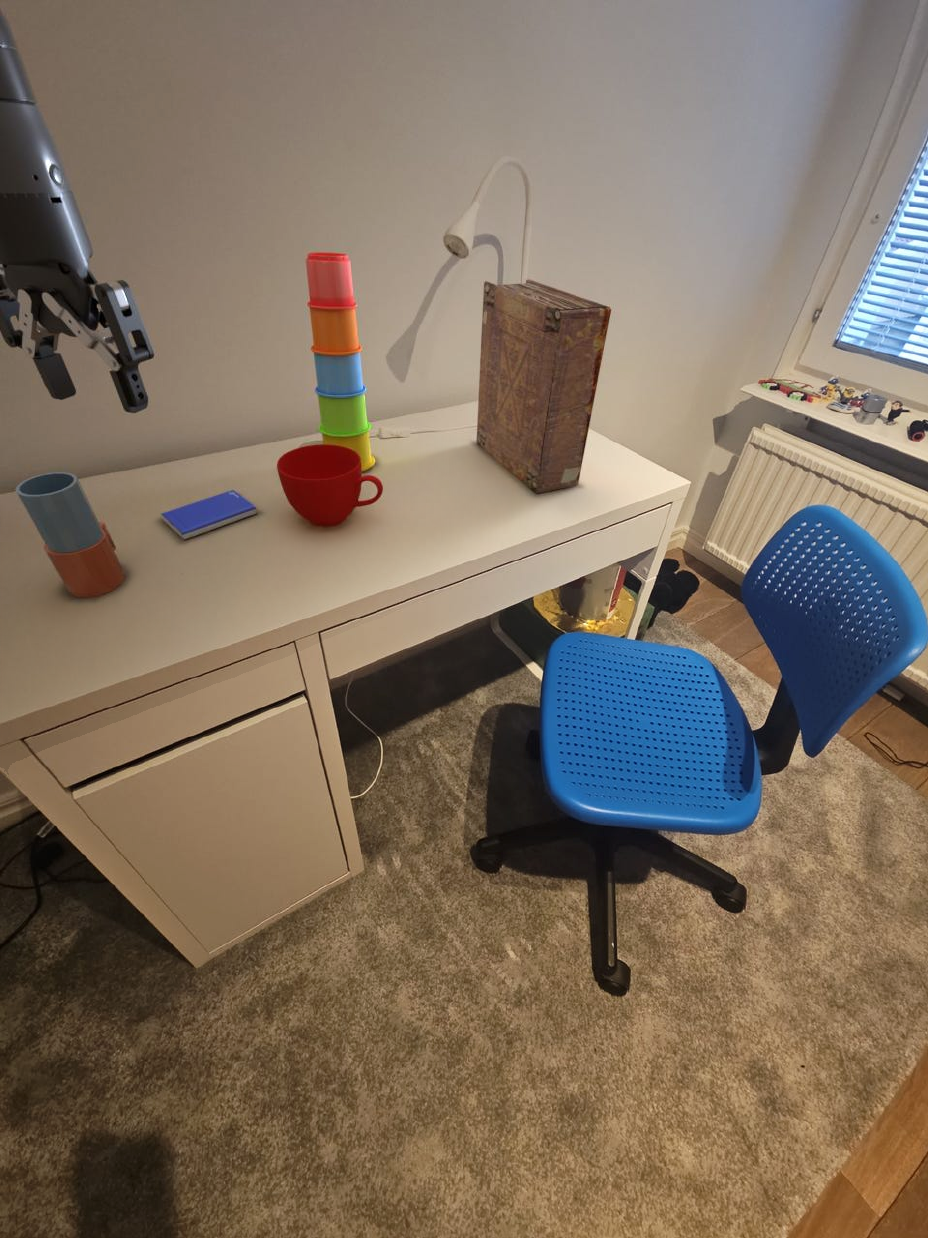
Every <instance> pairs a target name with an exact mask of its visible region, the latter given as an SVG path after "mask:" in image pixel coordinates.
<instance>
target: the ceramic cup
mask: <svg viewBox="0 0 928 1238" xmlns="http://www.w3.org/2000/svg"><path fill="white" fill-rule="evenodd" d="M276 470H277V474H278V477H279V482H280V484H281V487H282V490H283V493H284V495H285V497H286V499H287V501H288V503H289V504H290V506H291V508H293V510H294V511H295V512H296V513H297V514H298V515H299V516H300V517H302V518H303V519H304V520H306V521H307V522H308V523H310V525H313V526H316V527H320V528H329V527H335V526H339V525H341V524H343V523H344V522H345V521H346V520H347V519H348V517H349V516H350V515H351V514H352V512H354V510H355V509H356V508H361V507H366V506H369V505H372V504H374V503H376V502H377V501H378V500H379V499H380V498H381V496H382V495H383V491H384V486H383V483H382V481H381V480H380V479H379V477H377V476H376V475H371V474H366V475H363V472H362V466H361V457H360V456H359V454H358V453H357V452H355V451H354V450H352V449H350V448H347V447H343V446H339V445H329V444H323V443H322V444H320V443H319V444H309V445H303V446H300V447H296V448H294V449H291V450H289V451H287V452H285V453H284V454H282V455H281V456H280V457H279V458H278V460H277V463H276ZM364 482H371V483H373V484H374V485H375V486H376V490H377V492H376V494H375V495H374V496H373V497H372V498H368V499H364V500H359V499H360V496H361V493H362V486H363V485H362V484H363V483H364Z"/></svg>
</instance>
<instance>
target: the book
mask: <svg viewBox="0 0 928 1238" xmlns="http://www.w3.org/2000/svg"><path fill="white" fill-rule="evenodd" d="M482 297H483V298H482V317H481V337H480V338H481V339H480V360H479V363H480V364H479V380H478V401H477V402H478V403H477V422H476V444H477V445H478V446H479V447H480V448H481V449H483V450H484V451H485V452H486V453H487V454H489V456H491V457H492V458H493V459H495V461H497V462H498V463H499V464H500V465H502V466H503V467H504V468H505V469H506V470H508V471H509V472H510V473H512V475H514V476H515V477H516V478H517V479H518V480H519V481H521V482H522V483H523V484H524V485H526V487H527V488H529V489H530V490H531V491H532V492H534V493H535V494H536V495H537V494H541V493H546V492H550V491H551V492H552V491H555V490H560V489H564V488H571V487H575V486H577V485H579V482H580V476H581V472H582V466H583V462H584V461H583V460H584V457H585V451H586V445H587V440H588V434H589V429H590V424H591V418H592V413H593V408H594V403H595V397H596V393H597V388H598V382H599V378H600V377H599V376H600V371H601V366H602V361H603V357H604V350H605V345H606V340H607V334H608V329H609V323H610V319H611V313H612V309H611V306H607V305H605V304H602V303H599V302H596V301H593V300H590V299H587V298H584V297H582V296H578V295H576V294H573V293H570V292H567V291H564V290H561V289H559V288H556V287H552V286H550V285H548V284H547V285H546V284H544V283H541V282H538V281H535V280H533V279H529V278H528V279H525V282H524V283H507V284H496V283H493V282H490V281H487V280H485V281H483V296H482Z"/></svg>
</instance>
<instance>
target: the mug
mask: <svg viewBox="0 0 928 1238" xmlns="http://www.w3.org/2000/svg"><path fill="white" fill-rule="evenodd" d="M98 522H99V524H100V526H101V530H102V532H103V536H102V538H101V539H100V540H99V541H98V542H97V543H96V544H94V545H92V546H90V547H88V548H86V549H83V550H79V551H75V552H69V553H59V552H54V551H51V550H50V549H49V548H48V547H47V545H46V544H45V543H44V544H43V549H44V551H45V553H46V555H47V557H48V558H49V560H50V562H51V564H52V566H53V567H54V569H55V571H56V573H57V574H58V576H59V578H60V580H61V581H62V583H63V585H64V587H65V589H66V590H67V591H68V593H69V594H70V595H72V596H74V597H77V598H93V597H98V596H102V595H104V594H108V593H109V592H112V591H114V590H115V589H117V588H118V587H120V585H121V584H122V583H123V582H124V580H125V577H126V576H125V575H126V574H125V572H124V569H123V567H122V565H121V562H120V560H119V558H118V556H117V553H116V550H117V546H116V545H115V542H114V540H113V538H112V536H111V534H110V531H109V529H108V527H107V524H106V523H105V522H104V521H98Z"/></svg>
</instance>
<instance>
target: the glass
mask: <svg viewBox="0 0 928 1238" xmlns="http://www.w3.org/2000/svg"><path fill="white" fill-rule="evenodd" d="M15 493H16V494H17V496H18V498H19V501H20V502H21V504H22V505H23V507H24V509H25V511H26V512H27V514H28V516H29V518H30V520H31V521H32V523H33V525H34V526H35V528H36V530H37V531H38V534H39V535H40V537H41V539H42V541H43V542H44V544H46V545H47V547H48V548H49V549H50V550H51V551H54V552H59V553H69V552H75V551H79V550H83V549H86V548H88V547H90V546H92V545H94V544H96V543H97V542H98V541H99V540H100V539H101V538H102V536H103V532H102V530H101V526H100V524H99V522H100V521H99V520H98V518H97V516H96V514H95V512H94V510H93V507H92V505H91V503H90V501H89V499H88V497H87V495H86V493H85V491H84V489H83V486H82V484H81V482H80V480H79V478H78V476H76V475H75V474H74V473H71V472H67V471H54V472H46V473H42V474H38V475H34V476H31V477H29V478H27V479H24V480H23V481H21V482H20V483H19V484H17V485H16V487H15Z"/></svg>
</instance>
